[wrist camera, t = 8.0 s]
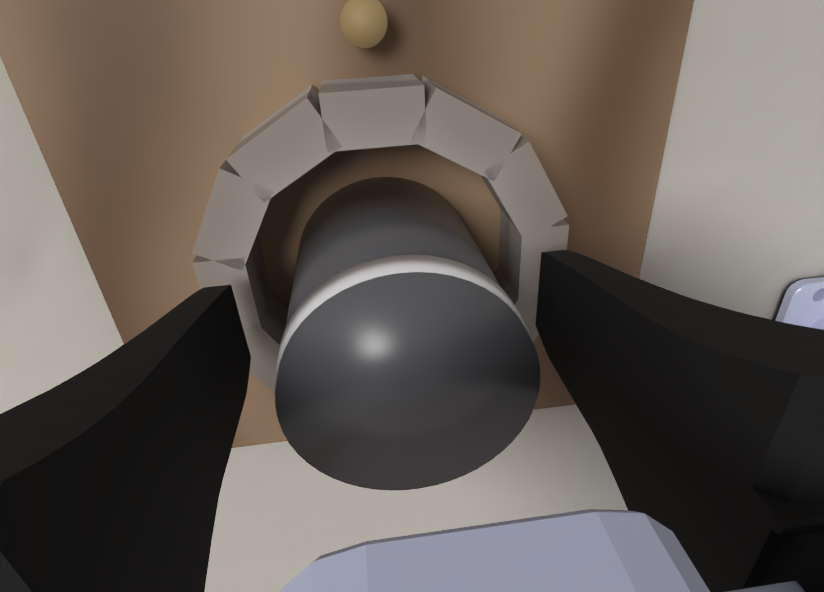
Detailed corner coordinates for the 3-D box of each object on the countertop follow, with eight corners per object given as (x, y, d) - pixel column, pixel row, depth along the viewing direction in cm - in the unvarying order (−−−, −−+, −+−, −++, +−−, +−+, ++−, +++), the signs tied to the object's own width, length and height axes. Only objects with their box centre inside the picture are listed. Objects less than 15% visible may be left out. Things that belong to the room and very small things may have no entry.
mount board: (685, -59, 12) (769, -75, 10) (604, 385, 19) (642, 439, 17) (-8, -18, 11) (-108, -24, 9) (178, 438, 18) (153, 504, 16)
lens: (469, 164, 13) (550, 261, 8) (473, 322, 16) (536, 470, 11) (279, 186, 13) (240, 302, 8) (313, 344, 16) (301, 509, 11)
